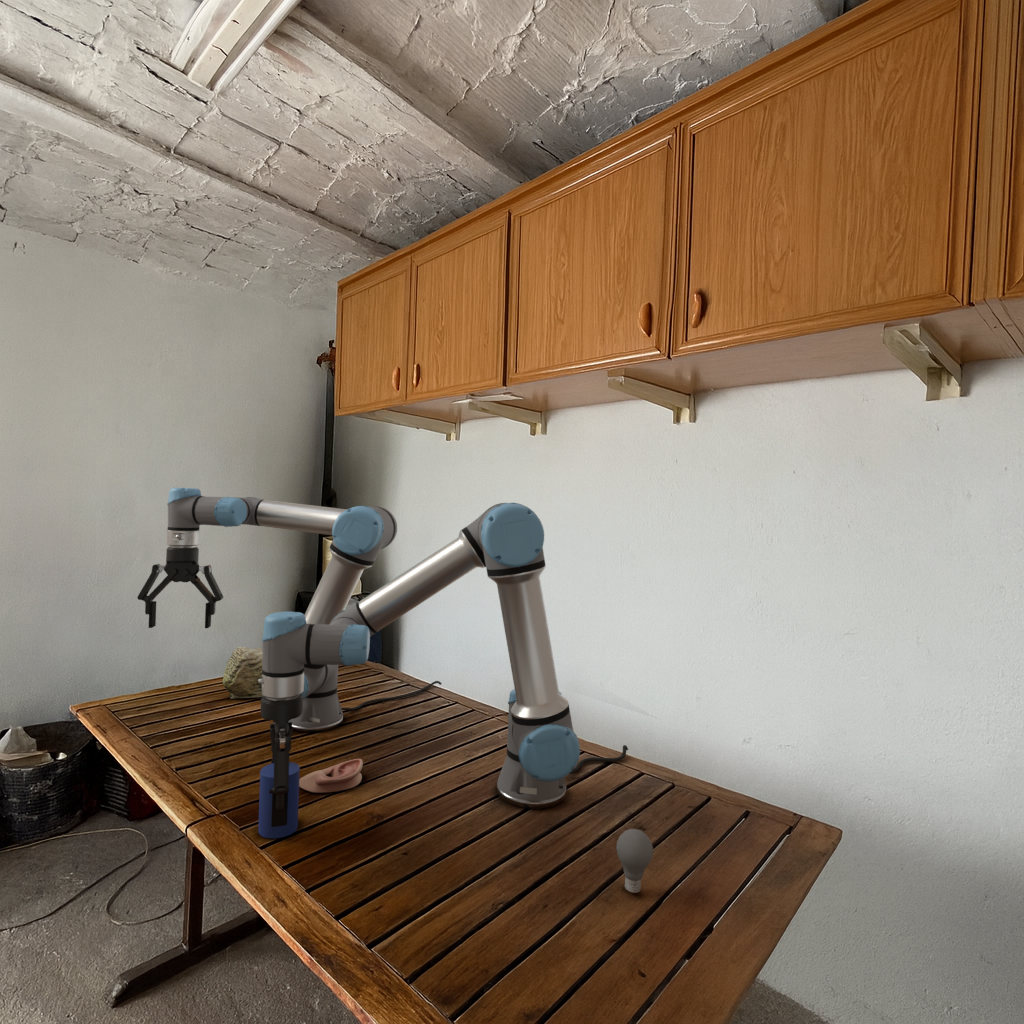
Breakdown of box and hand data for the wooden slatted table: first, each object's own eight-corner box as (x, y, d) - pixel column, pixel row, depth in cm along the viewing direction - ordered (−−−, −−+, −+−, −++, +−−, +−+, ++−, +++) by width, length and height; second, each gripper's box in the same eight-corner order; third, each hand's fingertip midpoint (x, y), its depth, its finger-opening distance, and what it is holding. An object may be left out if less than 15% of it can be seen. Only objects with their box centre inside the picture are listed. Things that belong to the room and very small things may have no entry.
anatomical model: (289, 770, 136) (316, 750, 147) (288, 789, 136) (315, 767, 147) (346, 778, 133) (369, 757, 145) (345, 797, 133) (368, 774, 145)
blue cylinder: (274, 842, 115) (276, 780, 115) (250, 830, 119) (252, 770, 119) (305, 826, 121) (307, 767, 121) (281, 815, 125) (283, 758, 125)
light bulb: (610, 879, 108) (613, 822, 108) (644, 879, 109) (647, 822, 109) (619, 902, 102) (622, 840, 102) (655, 901, 103) (658, 840, 103)
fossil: (218, 695, 195) (220, 647, 195) (278, 685, 208) (279, 640, 207) (228, 703, 189) (230, 653, 188) (289, 692, 201) (290, 645, 201)
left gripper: (124, 546, 160) (122, 629, 161) (229, 549, 165) (226, 630, 165) (136, 544, 168) (134, 623, 168) (236, 546, 172) (234, 624, 172)
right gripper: (260, 681, 128) (257, 794, 128) (261, 714, 109) (257, 845, 109) (300, 678, 130) (296, 789, 131) (306, 710, 112) (302, 838, 112)
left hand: (180, 627), depth 167 cm, fingers open, 13 cm apart
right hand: (278, 814), depth 120 cm, fingers closed on blue cylinder, 7 cm apart
